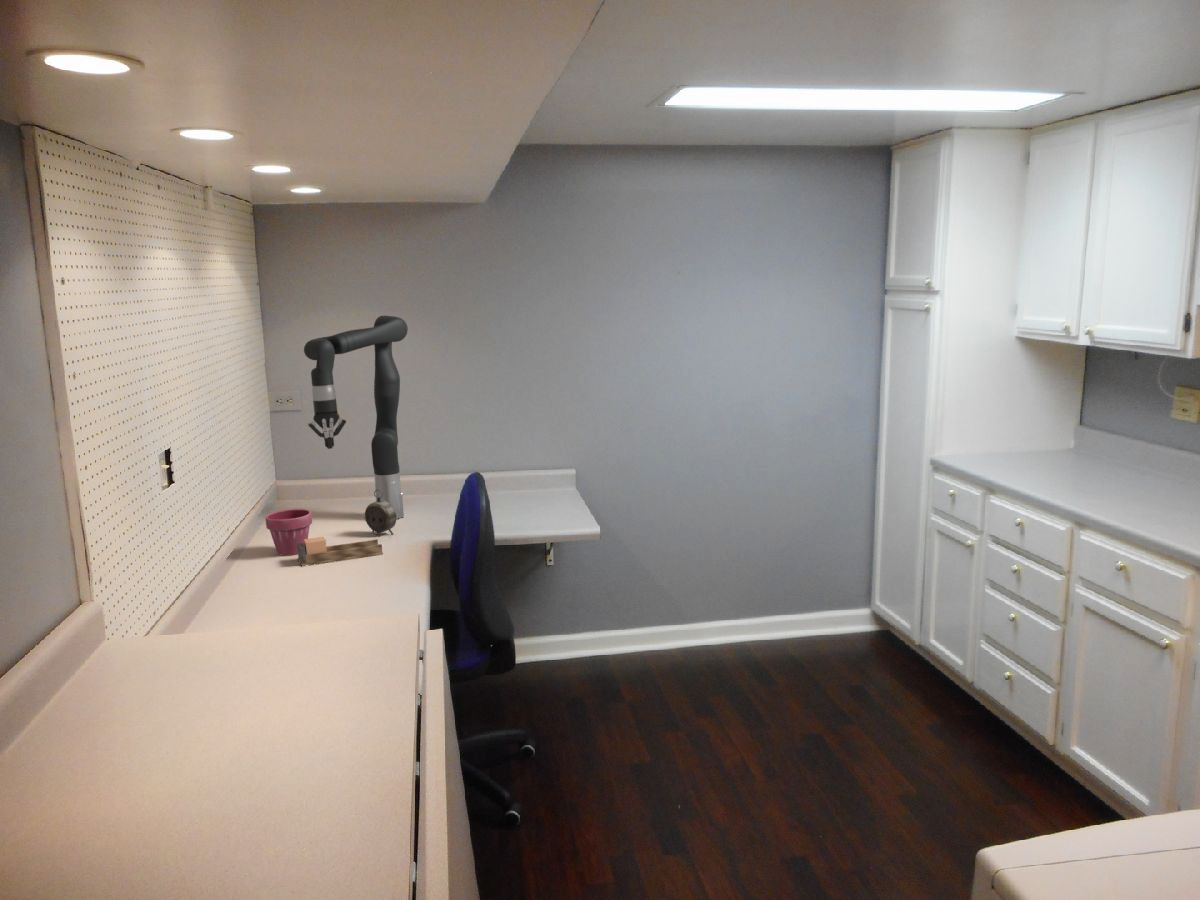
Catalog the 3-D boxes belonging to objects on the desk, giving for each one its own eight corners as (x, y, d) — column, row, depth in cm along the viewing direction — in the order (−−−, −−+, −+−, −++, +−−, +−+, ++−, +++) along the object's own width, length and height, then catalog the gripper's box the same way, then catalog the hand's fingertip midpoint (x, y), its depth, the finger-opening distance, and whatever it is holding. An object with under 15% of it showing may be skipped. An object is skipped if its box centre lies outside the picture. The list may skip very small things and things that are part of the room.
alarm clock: (398, 534, 301) (395, 488, 298) (388, 538, 296) (385, 492, 293) (373, 531, 305) (370, 486, 302) (363, 535, 300) (360, 489, 297)
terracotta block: (324, 554, 276) (323, 536, 274) (327, 558, 271) (325, 540, 270) (305, 557, 273) (303, 539, 272) (307, 561, 269) (305, 543, 267)
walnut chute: (377, 547, 285) (376, 531, 284) (383, 554, 277) (381, 538, 276) (298, 558, 274) (296, 542, 273) (302, 566, 266) (300, 549, 265)
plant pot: (259, 555, 278) (255, 517, 276) (289, 544, 291) (286, 507, 289) (294, 559, 273) (290, 520, 271) (323, 547, 286) (320, 510, 284)
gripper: (342, 395, 298) (347, 444, 301) (302, 399, 292) (308, 449, 295) (346, 397, 291) (351, 447, 294) (305, 401, 285) (311, 452, 289)
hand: (329, 448), depth 295 cm, fingers closed
